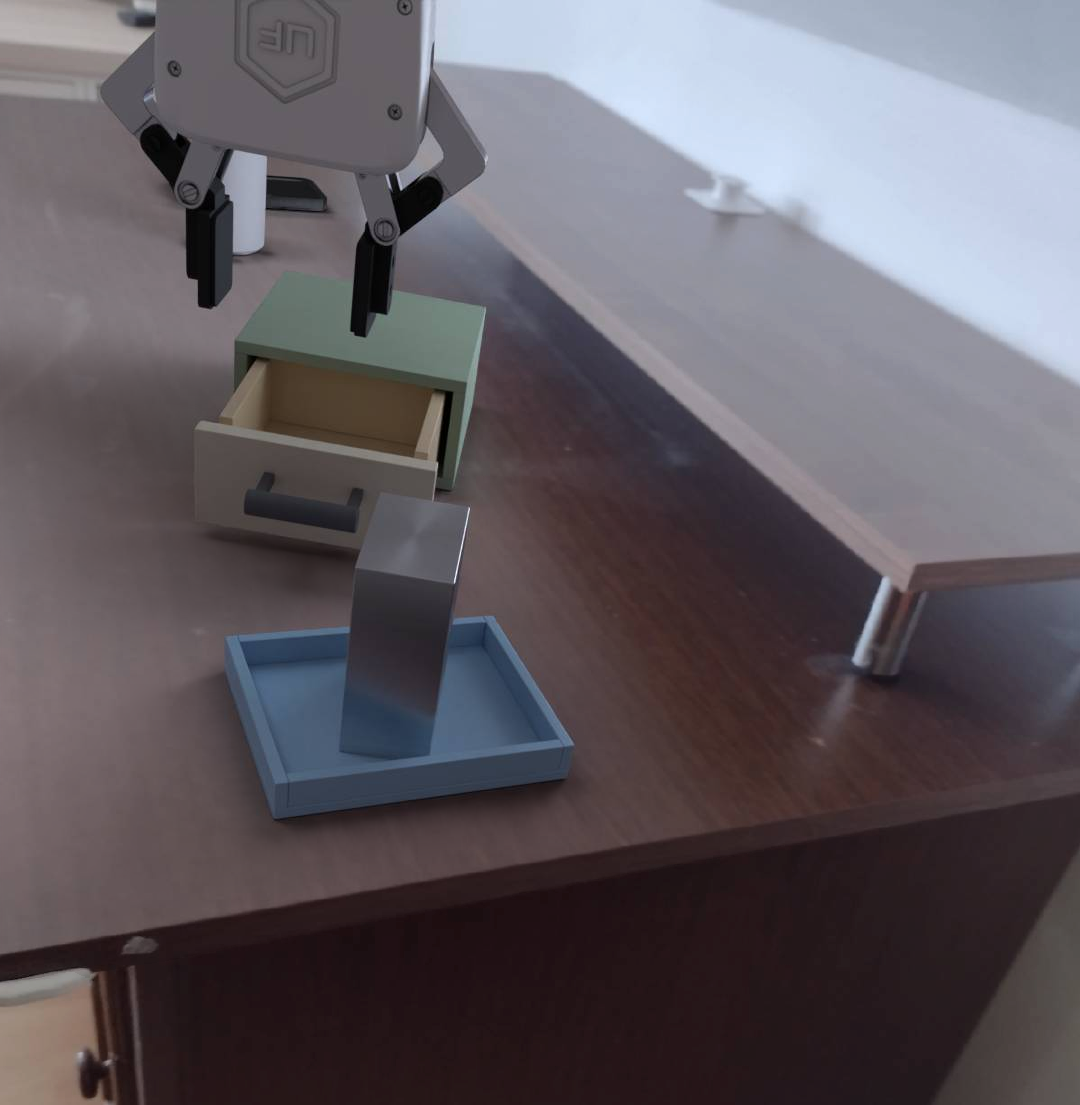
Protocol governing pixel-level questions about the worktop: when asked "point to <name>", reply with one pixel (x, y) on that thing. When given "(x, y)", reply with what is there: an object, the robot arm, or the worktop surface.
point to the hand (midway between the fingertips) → (289, 308)
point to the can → (247, 200)
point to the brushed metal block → (401, 626)
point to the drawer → (315, 452)
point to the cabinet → (373, 345)
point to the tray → (359, 780)
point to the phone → (293, 194)
